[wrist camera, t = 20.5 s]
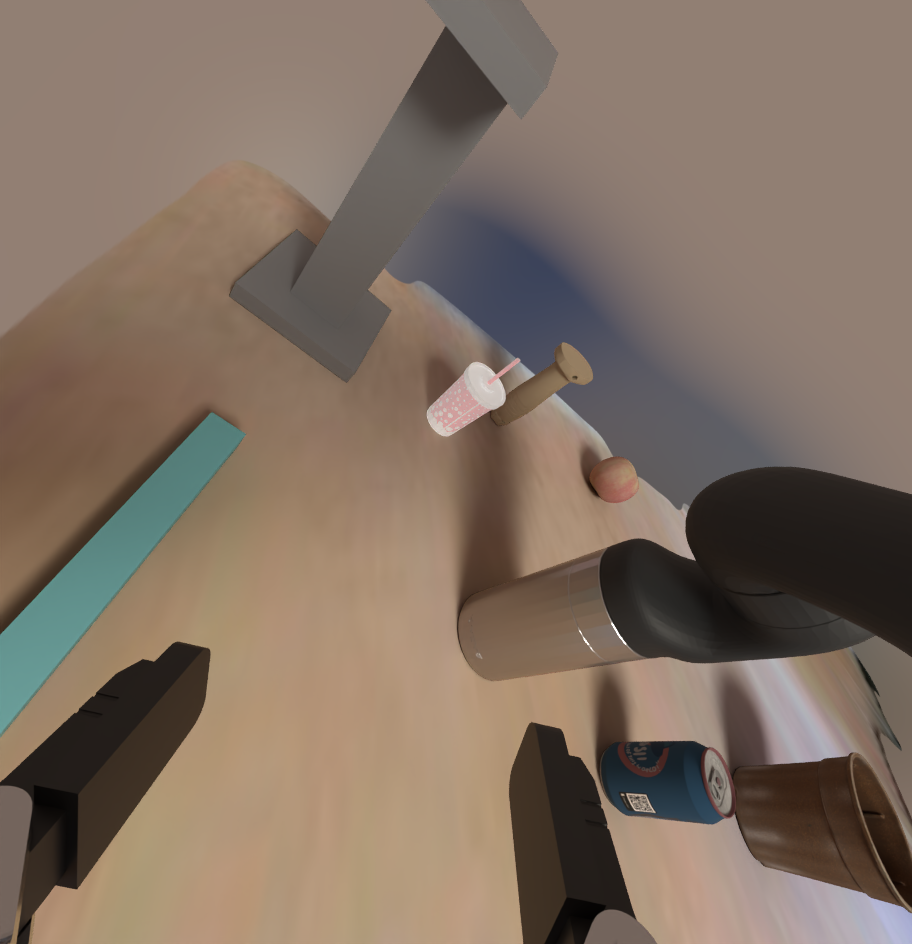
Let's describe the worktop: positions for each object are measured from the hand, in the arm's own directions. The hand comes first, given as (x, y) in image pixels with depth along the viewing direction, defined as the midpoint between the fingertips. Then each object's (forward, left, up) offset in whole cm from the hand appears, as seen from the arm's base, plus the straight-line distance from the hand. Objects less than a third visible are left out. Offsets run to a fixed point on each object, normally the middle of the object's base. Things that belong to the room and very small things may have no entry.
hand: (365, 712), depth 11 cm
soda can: (-45, +16, -25) cm, 54 cm away
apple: (-64, -22, -25) cm, 72 cm away
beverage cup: (-30, -29, -25) cm, 49 cm away
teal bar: (+3, -10, -25) cm, 28 cm away
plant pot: (-77, +31, -25) cm, 87 cm away
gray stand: (-13, -39, -25) cm, 48 cm away
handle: (-42, -32, -25) cm, 58 cm away
